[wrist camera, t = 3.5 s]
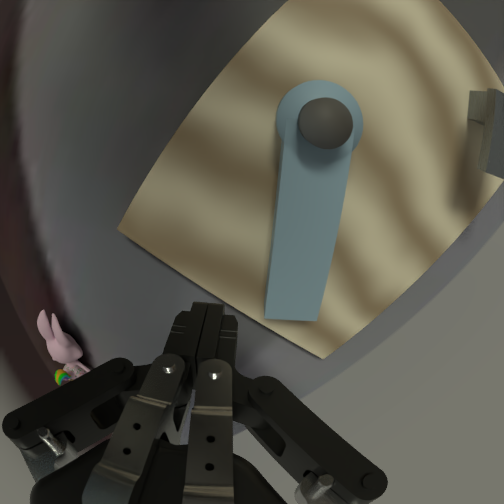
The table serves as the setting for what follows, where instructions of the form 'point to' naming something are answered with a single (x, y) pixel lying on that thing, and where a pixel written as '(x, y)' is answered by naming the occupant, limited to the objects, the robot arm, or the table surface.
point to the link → (306, 206)
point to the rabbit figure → (61, 349)
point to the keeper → (489, 128)
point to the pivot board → (383, 167)
